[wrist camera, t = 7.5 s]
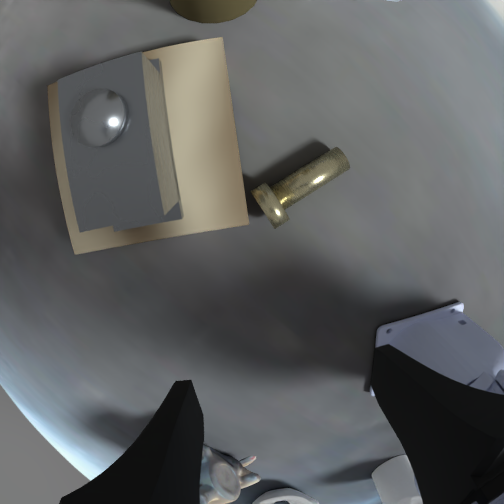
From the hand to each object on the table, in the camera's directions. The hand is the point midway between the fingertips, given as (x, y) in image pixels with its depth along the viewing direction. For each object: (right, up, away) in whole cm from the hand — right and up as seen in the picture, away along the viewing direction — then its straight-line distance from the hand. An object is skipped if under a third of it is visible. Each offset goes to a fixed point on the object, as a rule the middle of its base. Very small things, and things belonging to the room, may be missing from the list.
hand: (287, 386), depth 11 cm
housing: (-8, +11, +4) cm, 14 cm away
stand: (-8, +12, +6) cm, 15 cm away
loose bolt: (+2, +10, +8) cm, 13 cm away
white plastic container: (+18, -25, +21) cm, 37 cm away
